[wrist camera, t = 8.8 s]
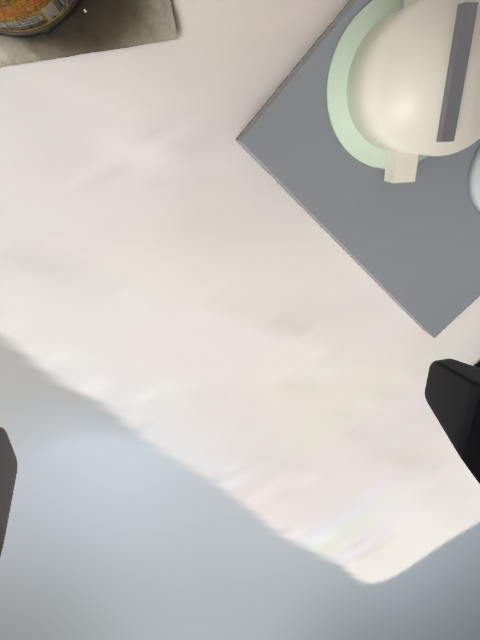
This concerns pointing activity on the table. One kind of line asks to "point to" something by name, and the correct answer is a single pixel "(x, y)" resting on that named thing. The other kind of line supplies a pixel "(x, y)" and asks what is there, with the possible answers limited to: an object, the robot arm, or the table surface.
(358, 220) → the post board
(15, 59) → the condiment
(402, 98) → the cream rounded dome
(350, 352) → the table surface
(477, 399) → the robot arm
